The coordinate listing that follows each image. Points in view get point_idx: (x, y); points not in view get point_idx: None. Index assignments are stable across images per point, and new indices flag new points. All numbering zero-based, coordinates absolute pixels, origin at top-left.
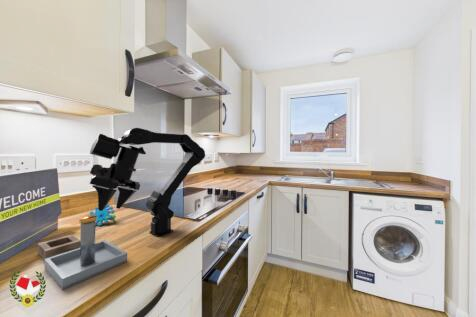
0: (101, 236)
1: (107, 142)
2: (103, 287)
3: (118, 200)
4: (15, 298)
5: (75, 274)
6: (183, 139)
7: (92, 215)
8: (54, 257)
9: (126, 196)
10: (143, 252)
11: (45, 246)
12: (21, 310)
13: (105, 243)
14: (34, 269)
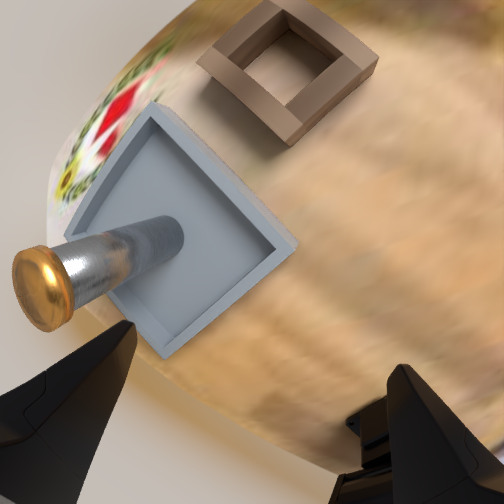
0: (437, 178)
1: None
2: (89, 310)
3: (425, 421)
4: (72, 149)
5: None
6: None
7: (51, 306)
8: (159, 123)
9: (405, 498)
10: (230, 383)
11: (242, 29)
12: (50, 191)
13: (257, 265)
14: (171, 80)
